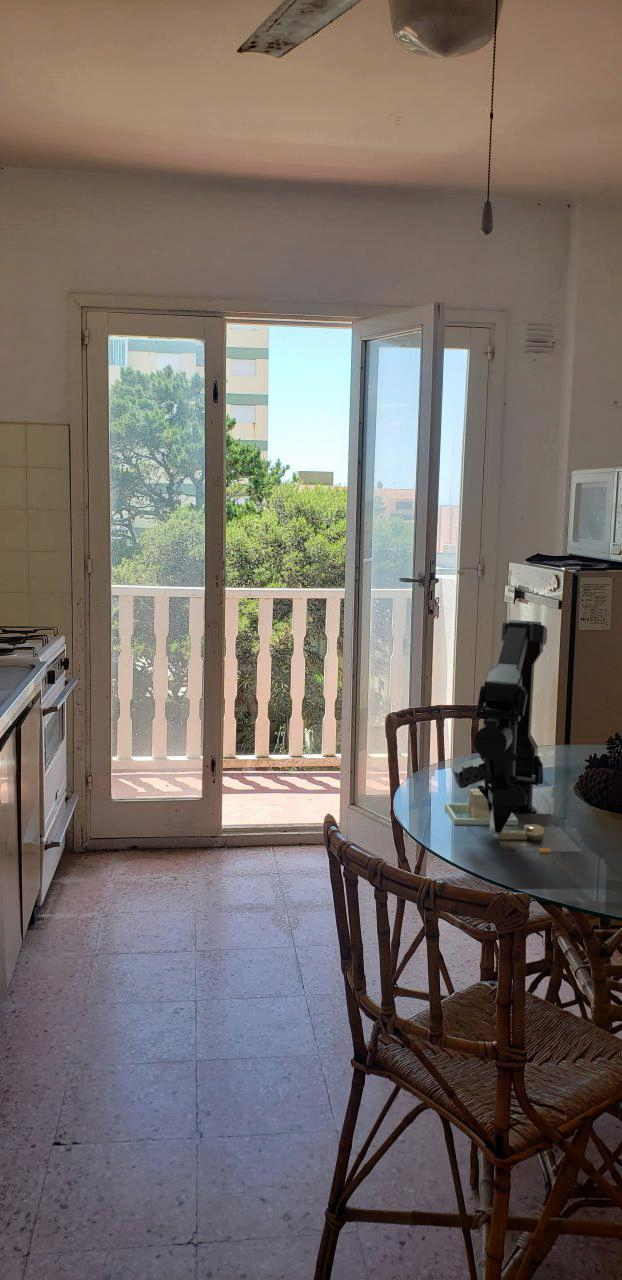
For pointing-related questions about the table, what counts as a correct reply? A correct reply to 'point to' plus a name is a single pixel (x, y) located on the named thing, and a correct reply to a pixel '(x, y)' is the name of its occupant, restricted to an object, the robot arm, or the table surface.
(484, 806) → the block
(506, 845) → the crank base
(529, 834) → the crank
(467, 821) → the tray
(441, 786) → the table surface
